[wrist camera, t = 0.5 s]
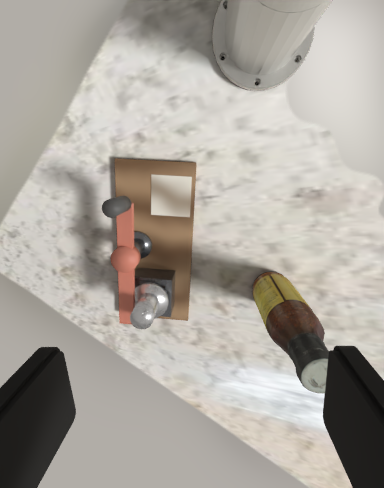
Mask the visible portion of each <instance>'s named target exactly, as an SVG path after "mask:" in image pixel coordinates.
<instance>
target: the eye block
mask: <svg viewBox="0 0 384 488" xmlns="http://www.w3.org/2000/svg"><path fill="white" fill-rule="evenodd" d="M175 274H176V270H164V269H151V268H137V270H136V271H135V288H136V287H137V286H138V285H140V284H142V283H146V282H152V283H156V284H158V285H160V286H165V291H166V292H167V294H168V297H169V304H168V307H167V310H166V311H165V313H164V314H163V315H162V316H163V317H171V315H172V311H173V308H174V302H175Z"/></svg>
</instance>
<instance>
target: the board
mask: <svg viewBox="0 0 384 488" xmlns="http://www.w3.org/2000/svg"><path fill="white" fill-rule="evenodd" d="M195 181H196V163H192V162H173V161H154V160H135V159H115V187H116V197H119V196H127V197H128V198H129V199H130V200H131V203H134V232H136V231H139V232H143V233H145V234H146V235H148V236H149V238H150V239H151V242H152V250H151V252H150V253H149V255H148V256H146V257H145V258H142V259H140V262H139V264H138V265H137V266H136V267H135V271H136V270H137V268H151V269H164V270H176V274H175V302H174V308H173V311H172V315H171V317H163V316H160V317H158V318H163V319H175V320H186V321H188V312H189V293H190V275H191V256H192V237H193V218H194V200H195ZM116 220H117V216H116ZM118 288H119V283H118Z"/></svg>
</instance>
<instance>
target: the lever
mask: <svg viewBox="0 0 384 488" xmlns="http://www.w3.org/2000/svg"><path fill="white" fill-rule="evenodd" d="M102 211H103V213H104V214H105V215H106V216H107V217H110V218H113V217H116V216H117V249H115V250H114V251H113V253H112V254H111V264H112V266H113V267H114V268H115V269H116V270H117V271H118V283H119V317H120V323H123V324H132V323H131V321H130V315H131V313H132V311H133V309H134V307H135V267H136V266H137V265H138V264H139V262H140V259H141V255H140V252H139V250H138V249H137V248H136V247H135V246H134V203H131V200H130V199H129V198H128V197H127V196H119V197H116V198H113V199H109V200H106V201H105V202H104V203H103V205H102Z"/></svg>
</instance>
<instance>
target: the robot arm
mask: <svg viewBox="0 0 384 488" xmlns="http://www.w3.org/2000/svg"><path fill="white" fill-rule="evenodd" d="M332 1H333V0H222V1H221V3H220V5H219V7H218V9H217V12H216V15H215V19H214V24H213V31H212V42H213V51H214V54H215V58H216V61H217V63H218V65H219V67H220V69H221V71H222V72H223V73H224V75H225V76H226V77H227V78H228V79H229V80H230V81H231V82H232V83H234V84H236V85H238V86H239V87H241V88H245V89H248V90H255V91H260V90H267V89H270V88H273V87H276V86H278V85H280V84H282V83H283V82H285V81H286V80H287V79H289V78H290V77H291V76H292V75H293V74H294V73H295V72H296V71H297V70H298V68H299V67H300V66H301V64H302V63H303V62H304V60H305V58H306V56H307V54H308V52H309V50H310V47H311V43H312V41H313V35H314V28H315V24H316V23H317V22H318V20H319V19H320V17H321V16H322V15H323V13H324V12H325V10H326V9H327V8H328V6H329V5H330V4H331V2H332ZM225 7H227V9H224V8H225ZM222 57H224V60H223V61H222V60H221V58H222ZM295 59H296V60H297V61H298V62H297V63H296V62H295ZM255 82H258V85H257V86H256V85H255ZM75 414H76V409H75V404H74V399H73V395H72V390H71V386H70V381H69V376H68V371H67V366H66V362H65V358H64V353H63V352H62V351H60V350H59V349H58V348H57V347H41V348H39V349H38V350H37V351H36V352H35V353H34V354H33V355H32V356H31V357H30V358H29V359H28V360H27V361H26V362H25V363H24V364H23V365H22V366H21V367H20V368H19V369H18V370H17V371H16V373H14V374H13V375H12V376H11V377H10V378H9V379H8V381H7V382H6V383H5V384H4V385H3V386H2V387H1V388H0V488H37V487H38V485H39V483H40V481H41V480H42V478H43V476H44V474H45V472H46V471H47V469H48V467H49V465H50V463H51V461H52V460H53V458H54V456H55V454H56V452H57V451H58V449H59V447H60V445H61V443H62V441H63V439H64V438H65V436H66V434H67V432H68V430H69V429H70V427H71V425H72V423H73V421H74V418H75ZM323 419H324V423H325V426H326V429H327V431H328V433H329V435H330V438H331V440H332V442H333V444H334V446H335V449H336V451H337V453H338V455H339V458H340V460H341V462H342V464H343V467H344V469H345V471H346V473H347V475H348V478H349V480H350V482H351V484H352V487H353V488H384V380H383V379H382V378H381V377H380V376H379V374H378V373H377V372H376V371H375V370H374V368H373V367H372V366H371V365H370V363H369V362H368V361H367V360H366V359H365V357H364V356H363V355H362V354H361V353H360V351H359V350H358V349H357V348H356V347H355V346H335V347H334V350H333V351H329V355H328V366H327V376H326V387H325V398H324V409H323Z"/></svg>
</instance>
